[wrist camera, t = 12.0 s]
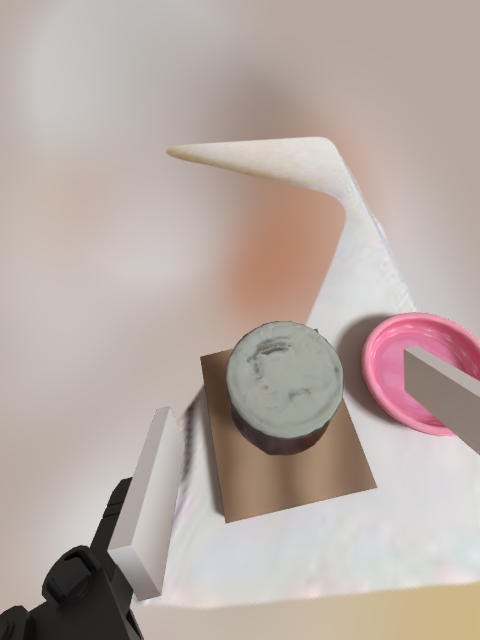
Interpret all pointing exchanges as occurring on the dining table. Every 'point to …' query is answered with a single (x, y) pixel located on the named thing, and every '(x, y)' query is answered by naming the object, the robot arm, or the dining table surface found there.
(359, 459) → the walnut serving board
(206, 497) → the dining table surface
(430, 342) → the saucer
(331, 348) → the sauce bottle
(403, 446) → the dining table surface
